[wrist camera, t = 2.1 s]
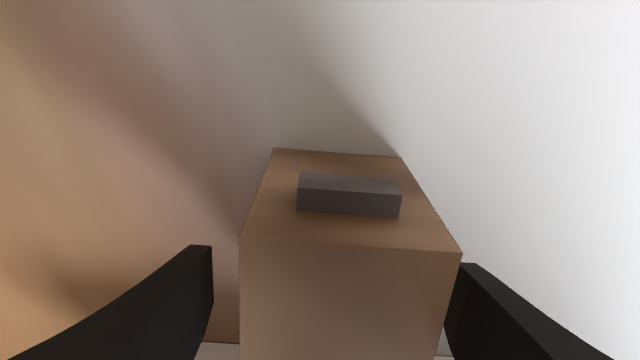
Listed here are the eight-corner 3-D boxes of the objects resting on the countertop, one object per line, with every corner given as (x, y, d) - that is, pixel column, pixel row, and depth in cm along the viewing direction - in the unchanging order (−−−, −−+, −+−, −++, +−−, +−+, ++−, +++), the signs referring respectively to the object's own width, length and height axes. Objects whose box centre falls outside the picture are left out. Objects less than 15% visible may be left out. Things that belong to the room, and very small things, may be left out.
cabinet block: (403, 140, 13) (469, 226, 7) (376, 292, 15) (410, 443, 10) (274, 130, 12) (238, 210, 7) (269, 285, 15) (240, 435, 9)
